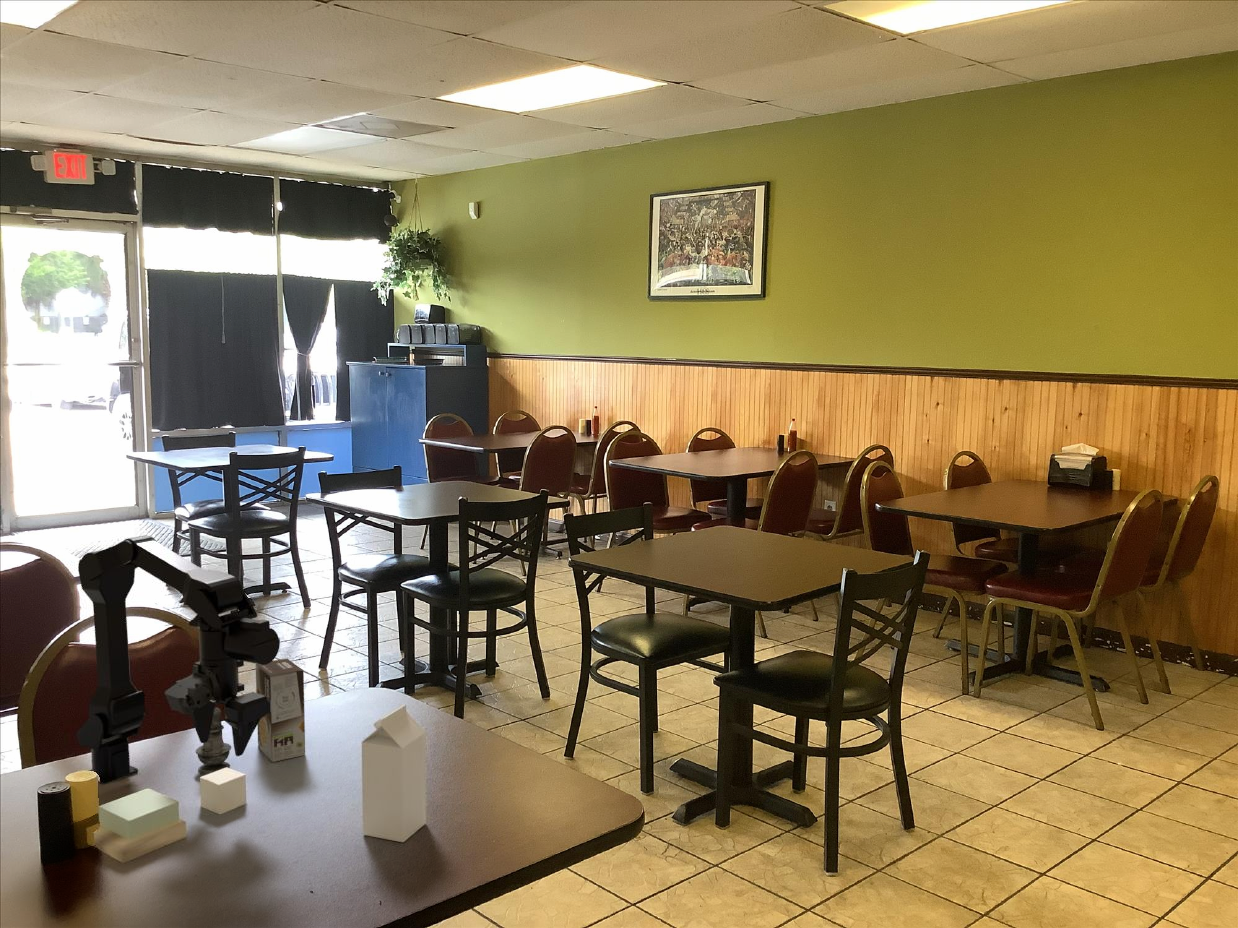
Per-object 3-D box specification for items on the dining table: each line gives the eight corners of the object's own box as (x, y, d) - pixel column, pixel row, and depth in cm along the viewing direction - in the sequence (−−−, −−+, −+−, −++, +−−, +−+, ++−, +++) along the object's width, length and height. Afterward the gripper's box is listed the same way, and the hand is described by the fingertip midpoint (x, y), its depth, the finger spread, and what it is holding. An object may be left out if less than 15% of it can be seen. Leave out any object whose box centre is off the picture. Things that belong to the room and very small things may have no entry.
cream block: (200, 806, 170) (199, 777, 169) (227, 795, 174) (226, 767, 173) (219, 814, 167) (218, 784, 166) (246, 803, 171) (245, 774, 170)
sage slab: (99, 825, 157) (98, 806, 157) (148, 806, 164) (148, 787, 163) (129, 840, 153) (128, 820, 152) (179, 820, 159) (178, 801, 159)
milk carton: (426, 823, 165) (425, 707, 162) (403, 843, 158) (401, 722, 156) (387, 816, 167) (385, 701, 165) (362, 835, 160) (360, 716, 158)
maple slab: (86, 846, 157) (85, 827, 156) (148, 822, 165) (147, 804, 164) (124, 866, 151) (123, 846, 151) (186, 840, 159) (185, 821, 159)
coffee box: (307, 755, 191) (305, 669, 189) (272, 762, 187) (269, 676, 185) (289, 739, 198) (288, 657, 197) (255, 746, 195) (253, 663, 193)
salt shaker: (219, 776, 181) (217, 709, 180) (189, 773, 182) (187, 706, 181) (238, 763, 187) (236, 698, 186) (208, 760, 188) (206, 695, 187)
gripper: (138, 656, 166) (141, 750, 168) (210, 679, 156) (212, 779, 157) (200, 640, 175) (203, 730, 177) (272, 661, 165) (274, 756, 167)
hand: (221, 748), depth 169 cm, fingers open, 9 cm apart
